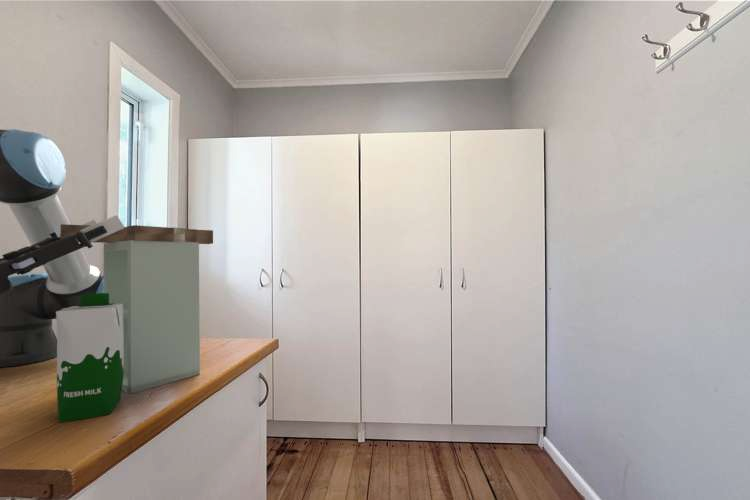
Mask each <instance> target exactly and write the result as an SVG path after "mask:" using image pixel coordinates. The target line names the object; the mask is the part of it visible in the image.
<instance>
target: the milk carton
mask: <svg viewBox="0 0 750 500" xmlns="http://www.w3.org/2000/svg"><path fill="white" fill-rule="evenodd" d="M55 320H56V331H57V336H56V338H57V357H56V390H57V391H56V395H57V397H56V398H57V422H58V423H62V422H63V423H65V422H70V421H75V420H83V419H88V418H95V417H101V416H107V415H111V414H112V413H113V411H114V410H115V408H117V406H118V404H119V403H120V402H121V399H122V392H123V390H122V384H123V372H124V333H123V304H122V303H121V304H115V303H112V304H109V293H97V294H84V295H81V306H72V307H69V308H63V309H61V310H60V311H57V312H56V319H55Z"/></svg>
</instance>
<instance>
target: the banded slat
mask: <svg viewBox="0 0 750 500" xmlns="http://www.w3.org/2000/svg"><path fill="white" fill-rule="evenodd" d="M126 227H127V241H130V240H134V241H166V242H196V230H197V229H196V228H195V229H194V228H184V227H166V226H154V225H153V226H152V225H149V226H148V225H139V224H138V225H135V224H133V225H128V226H126Z"/></svg>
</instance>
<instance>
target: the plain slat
mask: <svg viewBox="0 0 750 500" xmlns="http://www.w3.org/2000/svg"><path fill="white" fill-rule="evenodd" d="M89 226H91V225H83V224H71V225H66V224H61V239H62V238H65V237H67V236H70V235H73V234H75V233H77V232H79V231H80V230H82V229H85V228H87V227H89ZM124 227H125V228H123V229H121V230H119V231H117V232H114V233H112V234H110V235H108V236H106V237H103V238H101V239H99V240H97V241H94V242H93V243H103V244H104V243H112V242H121V241H127V226H124ZM76 240H77V241H78V239H77V238H76ZM78 242H79V241H78ZM196 242H197V243H199V245H210V244H214V230H213V229H212V230H211V229H196ZM79 243H80V242H79Z"/></svg>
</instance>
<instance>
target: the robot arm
mask: <svg viewBox="0 0 750 500" xmlns="http://www.w3.org/2000/svg"><path fill="white" fill-rule="evenodd" d="M66 166H67V165H66V161H65V158H64V156H63V154H62V152H61V150H60V149H59V147H58V146H57V145H56V144H55V142H54V141H52V140H51V139H50V138H49V137H47V136H45V135H43V134H41V133H39V132H36V131H35V132H33V131H27V130H26V131H25V130H20V129H15V128H13V129H0V203H1V204H5V205H8V207H9V208H10V209H11V212H12V213H13V215H14V217H15V218H16V220H17V222H18V224H19V225H20V228H21V230H22V231H23V233H24V235H25V236H26V238H27V240H28V242H29V243H30V246H24V247H22V248H19V249H17V250H12V251H8V252H6V253H4V254H2V255H1V256H2V257H1V258H0V368H2V367H12V366H13V367H14V366H21V365H28V364H33V363H34V364H35V363H37V362H43V361H47V360H50V359H53V358H57V336H56V334H55V331H54V329H53V320H57V319H56V312H57V311H60V310H61V309H63V308H69V307H72V306H81V295H84V294H97V293H104V275H101V272H100V270H99V268H98V267H97V266H95V265H93V264H90V263H89V262H88V259H87V256H85V253H84V251H83V248H88V249H90V248H91V249H92V248H93V247H94V245H93V244H92V243H95V242H94V241H97V240H99V239H101V238H103V237H106V236H108V235H110V234H112V233H114V232H117V231H119V230H121V229H123V228H125V227H126V226H124V224H123V222H122V221H121V219H120V217H119V216H118V215H114V216H111V217H109V218H106V219H104V220H102V221H99V222H96V220H95V219H93V220H90V221H88V222H86V223H83V224H82V225H91V226H89V227H87V228H85V229H82V230H80V231H79V232H77V233H75V234H73V235H70V236H67V237H65V238H62V239H61V224H66V225H72V224H71V223H70V220H69V218H68V216H67V214H66V212H65V210H64V207H63V205H62V202H61V200H60V198H59V196H58V194H59V193H60V191H61V190H62V185H63V184H64V182H66V177H67V169H66V168H65V167H66ZM76 238H77V239H78V241H79V242H78V241H77V240H76ZM41 266H42V267H43V269H44V270H45V272H39V273H38V272H37V273H30V272H32V271H33V270H34V269H37V268H39V267H41ZM15 274H16V275H15Z"/></svg>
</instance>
